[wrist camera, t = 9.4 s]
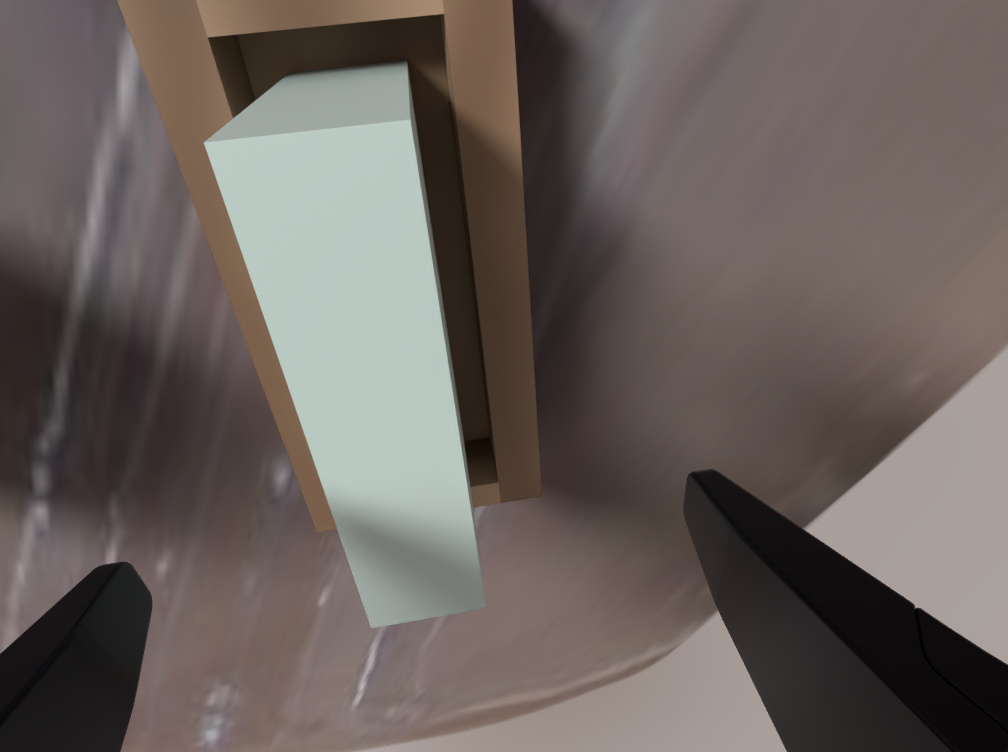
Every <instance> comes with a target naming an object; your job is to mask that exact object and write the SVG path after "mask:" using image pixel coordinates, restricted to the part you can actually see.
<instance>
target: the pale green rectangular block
mask: <svg viewBox="0 0 1008 752" xmlns="http://www.w3.org/2000/svg"><path fill="white" fill-rule="evenodd" d="M204 145H205V148H206V151H207V153H208V156H209V159H210V162H211V165H212V168H213V171H214V174H215V177H216V180H217V182H218V185H219V188H220V191H221V194H222V197H223V200H224V203H225V206H226V208H227V211H228V214H229V217H230V220H231V223H232V226H233V229H234V232H235V235H236V237H237V240H238V243H239V246H240V249H241V252H242V255H243V258H244V261H245V264H246V266H247V269H248V272H249V275H250V278H251V281H252V284H253V287H254V290H255V292H256V295H257V298H258V301H259V304H260V307H261V310H262V313H263V316H264V319H265V321H266V324H267V327H268V330H269V333H270V336H271V339H272V342H273V345H274V348H275V350H276V353H277V356H278V359H279V362H280V365H281V368H282V371H283V374H284V376H285V379H286V382H287V385H288V388H289V391H290V394H291V397H292V400H293V403H294V405H295V408H296V411H297V414H298V417H299V420H300V423H301V426H302V429H303V432H304V434H305V437H306V440H307V443H308V446H309V449H310V452H311V455H312V458H313V460H314V463H315V466H316V469H317V472H318V475H319V478H320V481H321V484H322V487H323V489H324V492H325V495H326V498H327V501H328V504H329V507H330V510H331V513H332V516H333V518H334V521H335V524H336V527H337V530H338V533H339V536H340V539H341V542H342V544H343V547H344V550H345V553H346V556H347V559H348V562H349V565H350V568H351V571H352V573H353V576H354V579H355V582H356V585H357V588H358V591H359V594H360V597H361V600H362V602H363V605H364V608H365V611H366V614H367V617H368V620H369V623H370V626H371V628H375V627H381V626H387V625H393V624H398V623H404V622H410V621H416V620H421V619H427V618H433V617H439V616H445V615H450V614H456V613H462V612H468V611H473V610H479V609H485V608H486V602H485V594H484V587H483V579H482V572H481V564H480V557H479V549H478V542H477V534H476V527H475V519H474V512H473V504H472V497H471V489H470V482H469V474H468V467H467V459H466V452H465V444H464V437H463V429H462V422H461V415H460V408H459V402H458V395H457V388H456V382H455V375H454V369H453V362H452V355H451V349H450V342H449V335H448V329H447V322H446V315H445V309H444V302H443V295H442V289H441V282H440V276H439V269H438V262H437V256H436V249H435V242H434V236H433V229H432V222H431V216H430V209H429V202H428V196H427V189H426V183H425V176H424V169H423V163H422V156H421V149H420V143H419V136H418V129H417V123H416V116H415V109H414V103H413V96H412V90H411V83H410V76H409V70H408V63H407V60H406V61H396V62H386V63H377V64H367V65H357V66H348V67H338V68H329V69H319V70H309V71H300V72H290V73H289V74H288V75H286V76H285V77H284V78H283V79H281V80H280V81H279V82H278V83H276V84H275V85H274V86H273V87H272V88H270V89H269V90H268V91H267V92H265V93H264V94H263V95H262V96H260V97H259V98H258V99H257V100H256V101H254V102H253V103H252V104H251V105H249V106H248V107H247V108H246V109H244V110H243V111H242V112H241V113H240V114H238V115H237V116H236V117H235V118H233V119H232V120H231V121H230V122H228V123H227V124H226V125H225V126H224V127H222V128H221V129H220V130H219V131H217V132H216V133H215V134H214V135H212V136H211V137H210V138H209V139H208V140H206V141H205V142H204Z"/></svg>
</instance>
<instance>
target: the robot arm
mask: <svg viewBox="0 0 1008 752" xmlns="http://www.w3.org/2000/svg"><path fill="white" fill-rule="evenodd" d="M683 509H684V517H685V520H686V523H687V526H688V529H689V532H690V535H691V537H692V540H693V543H694V546H695V549H696V552H697V554H698V557H699V560H700V563H701V566H702V568H703V571H704V574H705V577H706V580H707V582H708V585H709V588H710V591H711V593H712V596H713V599H714V601H715V604H716V606H717V608H718V611H719V613H720V615H721V617H722V619H723V621H724V623H725V625H726V627H727V629H728V631H729V634H730V636H731V638H732V640H733V642H734V644H735V646H736V648H737V650H738V652H739V654H740V656H741V658H742V660H743V662H744V665H745V667H746V669H747V671H748V672H749V675H750V677H751V679H752V681H753V683H754V685H755V687H756V689H757V691H758V693H759V695H760V697H761V699H762V701H763V704H764V706H765V707H766V710H767V712H768V714H769V716H770V718H771V720H772V722H773V724H774V726H775V728H776V730H777V732H778V734H779V736H780V739H781V741H782V743H783V745H784V747H785V749H786V751H787V752H1008V664H1006V663H1004V662H1002V661H1001V660H999V659H998V658H996V657H994V656H992V655H991V654H989V653H988V652H986V651H984V650H983V649H981V648H980V647H978V646H977V645H975V644H974V643H972V642H971V641H969V640H968V639H966V638H964V637H963V636H961V635H960V634H958V633H957V632H955V631H954V630H952V629H951V628H949V627H948V626H946V625H945V624H943V623H942V622H940V621H939V620H937V619H936V618H934V617H933V616H931V615H930V614H928V613H927V612H925V611H924V610H922V609H921V608H916V609H915V605H914V604H913V603H912V602H910V601H909V600H907V599H906V598H904V597H903V596H901V595H900V594H898V593H897V592H895V591H894V590H892V589H891V588H889V587H888V586H886V585H885V584H883V583H882V582H881V581H879V580H878V579H876V578H875V577H873V576H871V575H870V574H869V573H867V572H866V571H864V570H863V569H861V568H860V567H858V566H857V565H855V564H854V563H852V562H851V561H849V560H848V559H846V558H845V557H844V556H842V555H841V554H839V553H838V552H836V551H835V550H833V549H832V548H830V547H829V546H827V545H826V544H824V543H823V542H821V541H820V540H818V539H817V538H815V537H814V536H812V535H811V534H810V533H808V532H807V531H805V530H804V529H802V528H801V527H799V526H798V525H796V524H795V523H793V522H792V521H790V520H789V519H787V518H786V517H784V516H783V515H781V514H780V513H778V512H777V511H776V510H774V509H773V508H771V507H770V506H768V505H767V504H765V503H764V502H762V501H761V500H759V499H758V498H756V497H755V496H753V495H752V494H750V493H749V492H747V491H746V490H744V489H743V488H741V487H740V486H739V485H737V484H736V483H734V482H733V481H731V480H730V479H728V478H727V477H725V476H724V475H722V474H721V473H719V472H718V471H716V470H713V469H707V470H701V471H694V472H691V473H690V474H689V475H688V477H687V483H686V490H685V498H684V507H683ZM151 612H152V596H151V593H150V591H149V590H148V588H147V587H146V585H145V584H144V582H143V581H142V579H141V578H140V576H139V575H138V573H137V572H136V570H135V569H134V567H133V566H132V565H131V564H130V563H128V562H118V563H111V564H105V565H101V566H98V567H97V568H95V569H94V570H93V571H91V572H90V573H89V574H88V575H87V576H86V577H85V578H84V579H83V580H82V581H80V582H79V583H78V584H77V585H76V586H75V587H74V588H73V589H72V590H70V591H69V592H68V593H67V594H66V595H65V596H64V597H63V598H62V599H61V600H59V601H58V602H57V603H56V604H55V605H54V606H53V607H52V608H51V609H49V610H48V611H47V612H46V613H45V614H44V615H43V616H42V617H41V618H40V619H38V620H37V621H36V622H35V623H34V624H33V625H32V626H31V627H30V628H28V629H27V630H26V631H25V632H24V633H23V634H22V635H21V636H20V637H19V638H17V639H16V640H15V641H14V642H13V643H12V644H11V645H10V646H9V647H7V648H6V649H5V650H4V651H3V652H2V653H1V654H0V752H120V751H121V748H122V744H123V741H124V737H125V734H126V731H127V727H128V724H129V721H130V717H131V713H132V710H133V706H134V702H135V697H136V692H137V688H138V682H139V677H140V672H141V666H142V661H143V655H144V650H145V645H146V639H147V634H148V629H149V623H150V618H151Z"/></svg>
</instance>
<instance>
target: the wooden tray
mask: <svg viewBox="0 0 1008 752" xmlns="http://www.w3.org/2000/svg"><path fill="white" fill-rule="evenodd" d="M117 1H118V4H119V6H120V9H121V12H122V14H123V17H124V20H125V22H126V25H127V28H128V30H129V33H130V36H131V38H132V41H133V44H134V46H135V49H136V52H137V54H138V57H139V60H140V62H141V65H142V68H143V70H144V73H145V76H146V78H147V81H148V84H149V86H150V89H151V92H152V94H153V97H154V100H155V102H156V105H157V108H158V110H159V113H160V116H161V118H162V121H163V123H164V126H165V129H166V131H167V134H168V137H169V139H170V142H171V145H172V147H173V150H174V153H175V155H176V158H177V161H178V163H179V166H180V169H181V171H182V174H183V177H184V179H185V182H186V185H187V187H188V190H189V193H190V195H191V198H192V201H193V203H194V206H195V209H196V211H197V214H198V217H199V219H200V222H201V225H202V227H203V230H204V233H205V235H206V238H207V241H208V243H209V246H210V249H211V251H212V254H213V256H214V259H215V262H216V264H217V267H218V270H219V272H220V275H221V278H222V280H223V283H224V286H225V288H226V291H227V294H228V296H229V299H230V302H231V304H232V307H233V310H234V312H235V315H236V318H237V320H238V323H239V326H240V328H241V331H242V334H243V336H244V339H245V342H246V344H247V347H248V350H249V352H250V355H251V358H252V360H253V363H254V366H255V368H256V371H257V374H258V376H259V379H260V382H261V384H262V387H263V389H264V392H265V395H266V397H267V400H268V403H269V405H270V408H271V411H272V413H273V416H274V419H275V421H276V424H277V427H278V429H279V432H280V435H281V437H282V440H283V443H284V445H285V448H286V451H287V453H288V456H289V459H290V461H291V464H292V467H293V469H294V472H295V475H296V477H297V480H298V483H299V485H300V488H301V491H302V493H303V496H304V499H305V501H306V504H307V507H308V509H309V512H310V515H311V517H312V520H313V522H314V525H315V528H316V530H317V532H322V531H329V530H335V529H337V527H336V524H335V521H334V518H333V516H332V513H331V510H330V507H329V504H328V501H327V498H326V495H325V492H324V489H323V487H322V484H321V481H320V478H319V475H318V472H317V469H316V466H315V463H314V460H313V458H312V455H311V452H310V449H309V446H308V443H307V440H306V437H305V434H304V432H303V429H302V426H301V423H300V420H299V417H298V414H297V411H296V408H295V405H294V403H293V400H292V397H291V394H290V391H289V388H288V385H287V382H286V379H285V376H284V374H283V371H282V368H281V365H280V362H279V359H278V356H277V353H276V350H275V348H274V345H273V342H272V339H271V336H270V333H269V330H268V327H267V324H266V321H265V319H264V316H263V313H262V310H261V307H260V304H259V301H258V298H257V295H256V292H255V290H254V287H253V284H252V281H251V278H250V275H249V272H248V269H247V266H246V264H245V261H244V258H243V255H242V252H241V249H240V246H239V243H238V240H237V237H236V235H235V232H234V229H233V226H232V223H231V220H230V217H229V214H228V211H227V208H226V206H225V203H224V200H223V197H222V194H221V191H220V188H219V185H218V182H217V180H216V177H215V174H214V171H213V168H212V165H211V162H210V159H209V156H208V153H207V151H206V148H205V145H204V142H205V141H206V140H208V139H209V138H210V137H211V136H212V135H214V134H215V133H216V132H217V131H219V130H220V129H221V128H222V127H224V126H225V125H226V124H227V123H228V122H230V121H231V120H232V119H233V118H235V117H236V116H237V115H238V114H240V113H241V112H242V111H243V110H244V109H246V108H247V107H248V106H249V105H251V104H252V103H253V102H254V101H256V100H257V99H258V98H259V97H260V96H262V95H263V94H264V93H265V92H267V91H268V90H269V89H270V88H272V87H273V86H274V85H275V84H276V83H278V82H279V81H280V80H281V79H283V78H284V77H285V76H286V75H288V74H289V73H290V72H300V71H309V70H319V69H329V68H338V67H348V66H357V65H367V64H377V63H386V62H396V61H406V60H407V63H408V70H409V76H410V83H411V90H412V96H413V103H414V109H415V116H416V123H417V129H418V136H419V143H420V149H421V156H422V163H423V169H424V176H425V183H426V189H427V196H428V202H429V209H430V216H431V222H432V229H433V236H434V242H435V249H436V256H437V262H438V269H439V276H440V282H441V289H442V295H443V302H444V309H445V315H446V322H447V329H448V335H449V342H450V349H451V355H452V362H453V369H454V375H455V382H456V388H457V395H458V402H459V408H460V415H461V422H462V429H463V437H464V444H465V452H466V459H467V467H468V474H469V482H470V489H471V497H472V504H473V507H478V506H484V505H490V504H496V503H503V502H509V501H515V500H521V499H527V498H534V497H540V496H542V488H541V472H540V455H539V438H538V422H537V405H536V388H535V372H534V355H533V338H532V322H531V305H530V288H529V272H528V255H527V238H526V222H525V205H524V188H523V172H522V155H521V138H520V122H519V105H518V88H517V72H516V55H515V38H514V21H513V5H512V0H117Z"/></svg>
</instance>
